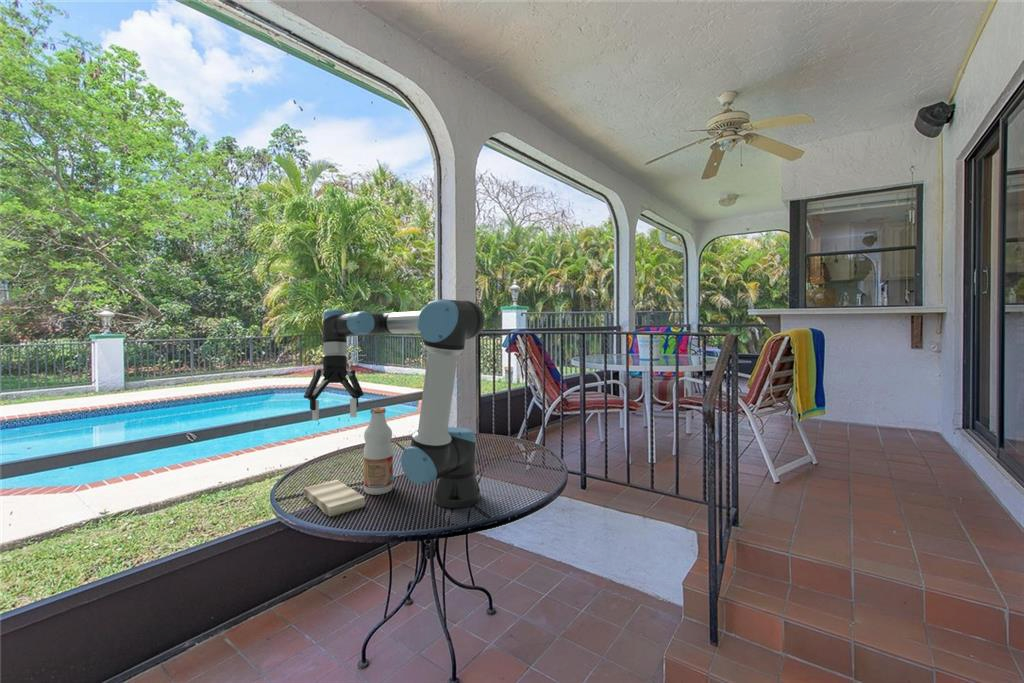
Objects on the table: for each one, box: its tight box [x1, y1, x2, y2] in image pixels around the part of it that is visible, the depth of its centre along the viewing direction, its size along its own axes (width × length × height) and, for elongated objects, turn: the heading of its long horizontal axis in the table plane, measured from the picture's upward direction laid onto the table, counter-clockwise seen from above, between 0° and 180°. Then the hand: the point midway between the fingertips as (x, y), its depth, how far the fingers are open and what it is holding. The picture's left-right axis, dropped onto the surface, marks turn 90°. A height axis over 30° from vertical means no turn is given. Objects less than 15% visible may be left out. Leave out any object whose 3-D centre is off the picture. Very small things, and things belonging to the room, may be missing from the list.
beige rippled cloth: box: [303, 479, 366, 518], centre depth 142 cm, size 20×11×3 cm, turn 45°
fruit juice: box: [363, 406, 394, 496], centre depth 151 cm, size 9×9×28 cm
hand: (335, 419), depth 149 cm, fingers open, 13 cm apart
